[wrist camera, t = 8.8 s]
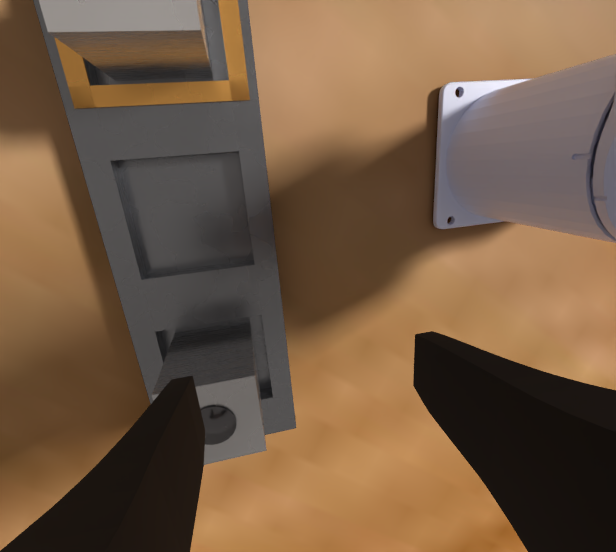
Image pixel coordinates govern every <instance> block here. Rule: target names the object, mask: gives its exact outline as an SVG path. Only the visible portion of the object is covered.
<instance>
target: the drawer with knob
mask: <svg viewBox="0 0 616 552" xmlns="http://www.w3.org/2000/svg"><path fill="white" fill-rule="evenodd" d="M39 3H40V6H41V10H42V13H43V17H44V20H45V24H46V27H47V31H48V33H50V34H51V35H53V36H54V37H55V38H57V39H58V40H59V41H61V42H62V43H64V44H65V45H66V46H68V47H69V48H71V49H72V50H73V51H75V52H76V53H78V54H79V55H80V56H82V57H83V58H84V59H86V60H87V61H89V62H90V63H91V64H93V65H94V66H96V67H97V68H98V69H100V70H101V71H102V72H104V73H105V74H107V75H108V76H109V77H111V78H112V79H114V80H142V79H169V78H196V77H213V74H212V68H211V61H210V55H209V48H208V42H207V35H206V28H205V22H204V15H203V9H202V2H201V0H39Z"/></svg>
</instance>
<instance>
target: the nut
mask: <svg viewBox="0 0 616 552" xmlns="http://www.w3.org/2000/svg"><path fill="white" fill-rule="evenodd" d="M187 376H193V379H194V383H195V388H196V392H197V396H198V401H199V405H200V409H201V414H202V418H203V422H204V427H205V450H204V465H205V464H210V463H214V462H218V461H223V460H227V459H231V458H236V457H240V456H244V455H249V454H253V453H257V452H262V451H266V441H265V432H264V423H263V413H262V404H261V395H260V385H259V377H258V371H257V364H256V357H255V351H254V344H253V338H252V331H251V325H250V320H248V321H242V322H236V323H230V324H223V325H217V326H211V327H205V328H199V329H192V330H186V331H180V332H175V334H174V336H173V339H172V342H171V344H170V347H169V350H168V353H167V355H166V358H165V361H164V363H163V366H162V369H161V371H160V374H159V377H158V379H157V382H156V385H155V387H154V390H153V393H152V398H153V401H154V400H155V399H156V397H157V396H158V395H159V394H160V392H161V391H162V390H163V389H164V388H165V386H166V385H167V384H168V383H169V382H170V381H171V379H176V378H182V377H187Z"/></svg>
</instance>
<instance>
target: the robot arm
mask: <svg viewBox="0 0 616 552" xmlns="http://www.w3.org/2000/svg"><path fill="white" fill-rule="evenodd" d="M456 89H458V90H459V96H458V97H457V96H456V95H455V91H456ZM449 217H451V221H450V222H449V223H447V220H448V218H449ZM504 221H507V222H512V223H517V224H522V225H528V226H533V227H538V228H543V229H548V230H553V231H558V232H563V233H568V234H573V235H578V236H583V237H588V238H593V239H598V240H604V241H609V242H614V243H616V54H614V55H610V56H607V57H604V58H600V59H597V60H594V61H590V62H587V63H584V64H580V65H577V66H574V67H570V68H567V69H564V70H560V71H557V72H554V73H550V74H547V75H544V76H540V77H537V78H534V79H514V80H491V81H469V82H451V83H447V84H445V85H444V86H442V88H441V89H440V93H439V108H438V129H437V150H436V171H435V192H434V213H433V224H434V226H435V227H436V228H438V229H449V228H457V227H465V226H473V225H480V224H488V223H496V222H504ZM413 386H414V387H415V389H416V391H417V393H418V394H419V396H420V398H421V400H422V401H423V403H424V405H425V406H426V408H427V409H428V411H429V413H430V414H431V415H432V417H433V418H434V419H435V421H436V422H437V423H438V424H439V426H440V427H441V428H442V430H443V431H444V432H445V433H446V435H447V436H448V437H449V439H450V440H451V441H452V442H453V444H454V445H455V446H456V447H457V449H458V450H459V451H460V452H461V454H462V455H463V456H464V458H465V459H466V460H467V461H468V463H469V464H470V465H471V466H472V468H473V469H474V470H475V472H476V473H477V474H478V476H479V477H480V478H481V480H482V481H483V482H484V484H485V485H486V487H487V488H488V489H489V491H490V492H491V494H492V496H493V497H494V499H495V500H496V502H497V503H498V505H499V506H500V508H501V509H502V511H503V512H504V514H505V515H506V517H507V519H508V520H509V522H510V523H511V525H512V526H513V528H514V530H515V531H516V533H517V535H518V536H519V538H520V539H521V541H522V543H523V544H524V546H525V547H526V549H527V551H528V552H616V390H611V389H607V388H602V387H598V386H594V385H590V384H586V383H582V382H578V381H575V380H571V379H567V378H564V377H560V376H557V375H553V374H550V373H546V372H543V371H540V370H537V369H534V368H531V367H528V366H525V365H522V364H519V363H516V362H513V361H511V360H508V359H505V358H502V357H500V356H497V355H494V354H492V353H489V352H487V351H484V350H481V349H479V348H476V347H474V346H471V345H469V344H466V343H464V342H461V341H458V340H456V339H453V338H450V337H448V336H445V335H442V334H439V333H436V332H432V331H431V332H426V333H420V334H415V355H414V385H413ZM204 450H205V427H204V422H203V418H202V414H201V409H200V405H199V401H198V396H197V392H196V388H195V383H194V379H193V376H187V377H182V378H176V379H171V381H170V382H169V383H168V384H167V385H166V386H165V388H164V389H163V390H162V391H161V392H160V394H159V395H158V396H157V397H156V399H155V400H154V401H153V402H152V404H151V405H150V406H149V407H148V408H147V410H146V411H145V412H144V413H143V414H142V416H141V417H140V418H139V419H138V420H137V421H136V423H135V424H134V425H133V426H132V427H131V429H130V430H129V431H128V432H127V433H126V434H125V435H124V436H123V437H122V438H121V440H120V441H119V442H118V443H117V444H116V445H115V446H114V447H113V448H112V449H111V450H110V451H109V453H108V454H107V455H106V456H105V457H104V458H103V459H102V460H101V461H100V462H99V463H98V464H97V465H96V466H95V467H94V468H93V469H92V470H91V471H90V472H89V473H88V474H87V475H86V476H85V477H84V478H83V479H82V480H81V481H80V482H79V483H78V484H77V485H76V486H75V487H74V488H72V489H71V490H70V491H69V492H68V493H67V494H66V495H65V496H64V497H63V498H62V499H61V500H60V501H58V502H57V503H56V504H55V505H54V506H53V507H52V508H51V509H49V510H48V511H47V512H46V513H45V514H44V515H42V516H41V517H40V518H39V519H38V520H36V521H35V522H34V523H33V524H32V525H30V526H29V527H28V528H27V529H26V530H25V531H23V532H22V533H21V534H20V535H19V536H17V537H16V538H15V539H14V540H13V541H11V542H10V543H9V544H8V545H7V546H6V547H4V548H3V549H2V550H1V551H0V552H190V547H191V541H192V535H193V529H194V523H195V517H196V510H197V504H198V498H199V492H200V485H201V479H202V473H203V466H204Z"/></svg>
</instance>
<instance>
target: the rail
mask: <svg viewBox="0 0 616 552" xmlns="http://www.w3.org/2000/svg"><path fill="white" fill-rule="evenodd" d="M33 1H34V5H35V8H36V12H37V15H38V18H39V22H40V25H41V29H42V32H43V36H44V39H45V43H46V46H47V49H48V53H49V56H50V60H51V63H52V67H53V70H54V74H55V77H56V80H57V84H58V87H59V91H60V94H61V98H62V101H63V105H64V108H65V111H66V115H67V118H68V122H69V125H70V129H71V132H72V135H73V139H74V142H75V146H76V149H77V153H78V156H79V160H80V163H81V166H82V170H83V173H84V177H85V180H86V184H87V187H88V191H89V194H90V197H91V201H92V204H93V208H94V211H95V215H96V218H97V221H98V225H99V228H100V232H101V235H102V239H103V242H104V246H105V249H106V252H107V256H108V259H109V263H110V266H111V270H112V273H113V277H114V280H115V283H116V287H117V290H118V294H119V297H120V301H121V304H122V308H123V311H124V314H125V318H126V321H127V325H128V328H129V332H130V335H131V338H132V342H133V345H134V349H135V352H136V356H137V359H138V363H139V366H140V369H141V373H142V376H143V380H144V383H145V387H146V390H147V394H148V397H149V400H150V404H152V402H153V398H152V393H153V390H154V387H155V385H156V382H157V379H158V377H159V374H160V371H161V369H162V366H163V363H164V361H165V358H166V355H167V353H168V350H169V347H170V344H171V342H172V339H173V336H174V334H175V332H180V331H186V330H192V329H199V328H205V327H211V326H217V325H223V324H230V323H236V322H242V321H248V320H250V325H251V331H252V338H253V344H254V351H255V357H256V364H257V371H258V377H259V385H260V395H261V404H262V413H263V423H264V432H265V435H267V434H271V433H276V432H280V431H285V430H289V429H294V428H296V422H295V413H294V404H293V395H292V387H291V378H290V369H289V360H288V352H287V343H286V334H285V325H284V317H283V308H282V299H281V290H280V281H279V273H278V264H277V255H276V246H275V238H274V229H273V220H272V211H271V203H270V194H269V185H268V176H267V168H266V159H265V150H264V141H263V133H262V124H261V115H260V106H259V97H258V89H257V80H256V71H255V62H254V54H253V45H252V36H251V27H250V19H249V10H248V1H247V0H201V2H202V9H203V15H204V22H205V28H206V35H207V42H208V48H209V55H210V61H211V68H212V74H213V77H196V78H169V79H142V80H114V79H112V78H111V77H109V76H108V75H107V74H105V73H104V72H102V71H101V70H100V69H98V68H97V67H96V66H94V65H93V64H91V63H90V62H89V61H87V60H86V59H84V58H83V57H82V56H80V55H79V54H78V53H76V52H75V51H73V50H72V49H71V48H69V47H68V46H66V45H65V44H64V43H62V42H61V41H59V40H58V39H57V38H55V37H54V36H53V35H51V34H50V33H48V31H47V27H46V24H45V20H44V17H43V13H42V10H41V6H40V3H39V0H33Z"/></svg>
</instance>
